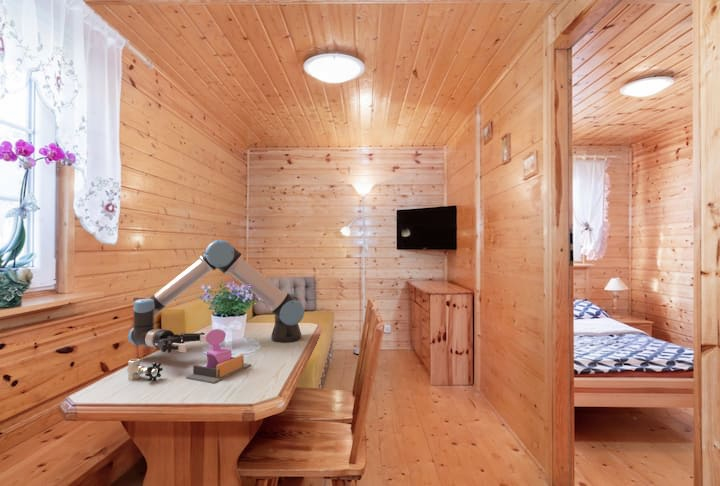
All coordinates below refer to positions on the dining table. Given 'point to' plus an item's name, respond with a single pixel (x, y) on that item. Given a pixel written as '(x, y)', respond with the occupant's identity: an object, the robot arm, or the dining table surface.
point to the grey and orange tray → (218, 370)
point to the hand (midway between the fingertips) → (199, 343)
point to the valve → (143, 370)
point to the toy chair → (217, 348)
